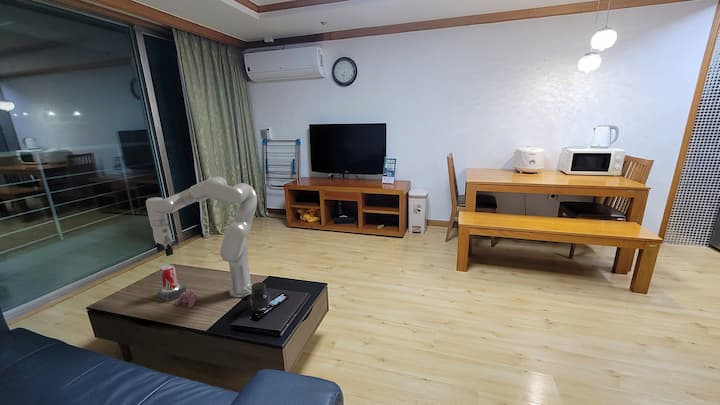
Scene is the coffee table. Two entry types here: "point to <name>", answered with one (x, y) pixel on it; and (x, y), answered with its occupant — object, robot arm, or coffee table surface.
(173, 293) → the motor block
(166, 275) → the soda can
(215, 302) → the coffee table surface
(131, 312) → the coffee table surface
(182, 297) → the video game controller
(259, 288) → the ink bottle
